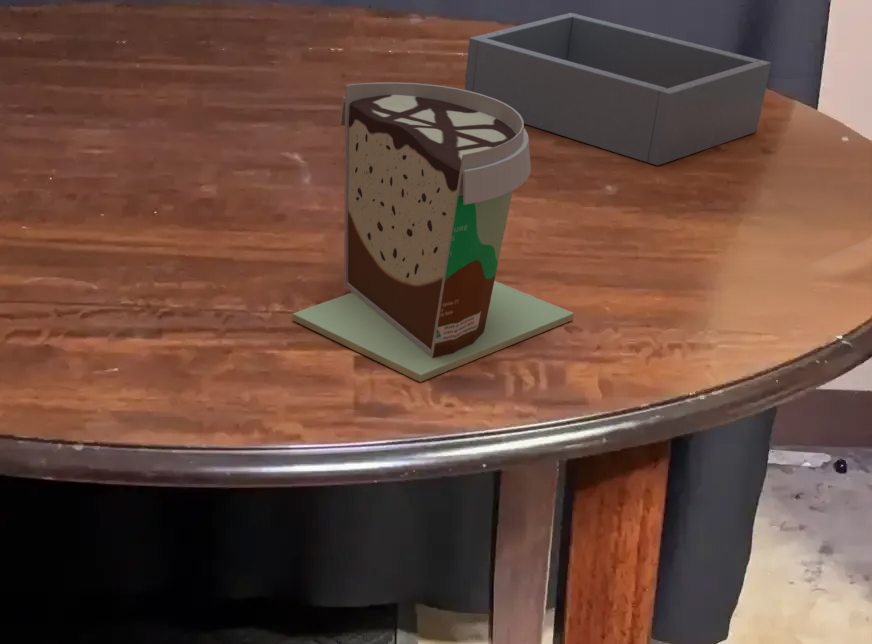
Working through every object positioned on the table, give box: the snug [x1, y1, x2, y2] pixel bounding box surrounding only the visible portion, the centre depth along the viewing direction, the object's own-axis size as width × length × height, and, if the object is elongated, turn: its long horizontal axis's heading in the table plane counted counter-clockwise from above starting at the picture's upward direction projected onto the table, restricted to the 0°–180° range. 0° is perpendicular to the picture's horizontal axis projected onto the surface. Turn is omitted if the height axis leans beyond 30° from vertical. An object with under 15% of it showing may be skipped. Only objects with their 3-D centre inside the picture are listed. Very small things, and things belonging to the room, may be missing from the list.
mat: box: [292, 280, 575, 383], centre depth 76 cm, size 9×11×1 cm
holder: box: [464, 12, 772, 167], centre depth 102 cm, size 17×11×4 cm, turn 39°
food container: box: [338, 81, 532, 358], centre depth 73 cm, size 12×6×10 cm, turn 22°
